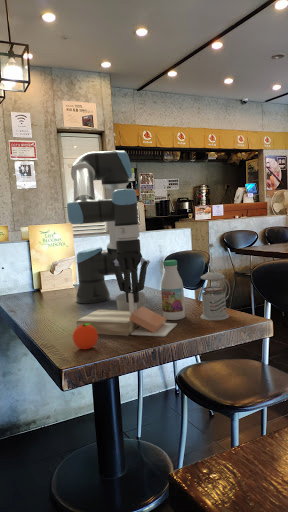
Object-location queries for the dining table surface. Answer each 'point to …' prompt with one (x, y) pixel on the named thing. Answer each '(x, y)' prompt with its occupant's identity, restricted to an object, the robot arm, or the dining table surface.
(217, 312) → the french press
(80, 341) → the clementine
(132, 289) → the robot arm
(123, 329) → the block
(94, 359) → the dining table surface
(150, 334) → the mat
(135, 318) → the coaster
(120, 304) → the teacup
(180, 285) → the milk bottle
